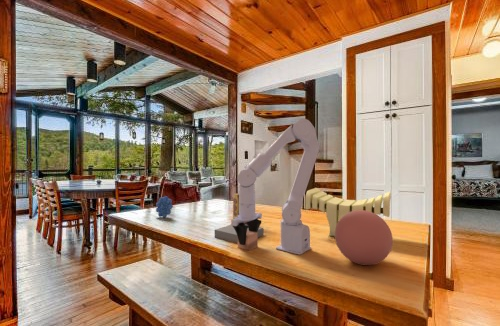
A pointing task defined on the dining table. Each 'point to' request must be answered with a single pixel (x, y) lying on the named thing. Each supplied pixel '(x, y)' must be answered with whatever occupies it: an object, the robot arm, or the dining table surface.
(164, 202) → the grapes
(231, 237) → the charcoal plinth
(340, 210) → the slatted curved stool
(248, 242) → the terracotta block
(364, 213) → the matte pink egg
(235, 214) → the candy box
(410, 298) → the dining table surface
